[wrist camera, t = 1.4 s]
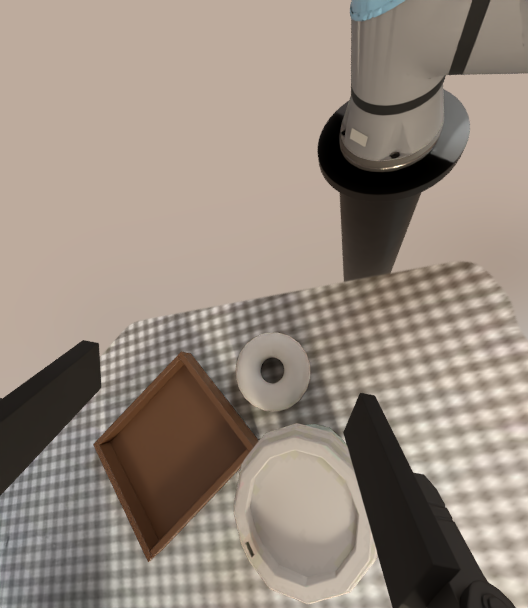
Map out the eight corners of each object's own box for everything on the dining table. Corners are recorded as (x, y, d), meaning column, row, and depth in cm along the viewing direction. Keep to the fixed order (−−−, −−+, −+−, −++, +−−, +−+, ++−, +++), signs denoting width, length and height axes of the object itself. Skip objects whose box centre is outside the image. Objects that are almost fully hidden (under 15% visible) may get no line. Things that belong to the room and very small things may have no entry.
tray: (190, 353, 40) (181, 351, 38) (262, 444, 33) (255, 449, 31) (107, 440, 40) (92, 444, 38) (162, 550, 33) (148, 562, 31)
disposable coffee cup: (328, 391, 33) (315, 397, 19) (390, 478, 29) (429, 566, 15) (261, 438, 34) (202, 477, 20) (311, 530, 29) (280, 659, 16)
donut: (245, 414, 35) (319, 405, 33) (235, 417, 32) (315, 407, 30) (238, 341, 38) (305, 328, 36) (228, 337, 35) (300, 322, 33)
